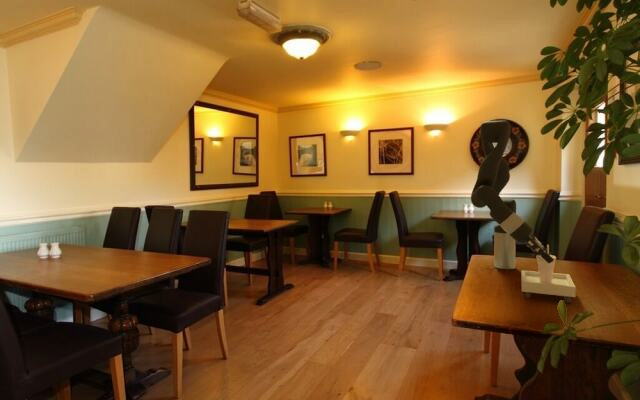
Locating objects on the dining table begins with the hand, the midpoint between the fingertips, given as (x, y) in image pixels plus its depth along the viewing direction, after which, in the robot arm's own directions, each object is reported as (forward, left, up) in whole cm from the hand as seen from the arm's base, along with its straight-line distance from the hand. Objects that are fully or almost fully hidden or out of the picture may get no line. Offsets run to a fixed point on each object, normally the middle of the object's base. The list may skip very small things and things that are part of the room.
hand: (550, 259), depth 136 cm
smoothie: (0, -2, -9) cm, 9 cm away
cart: (0, -1, -14) cm, 14 cm away
